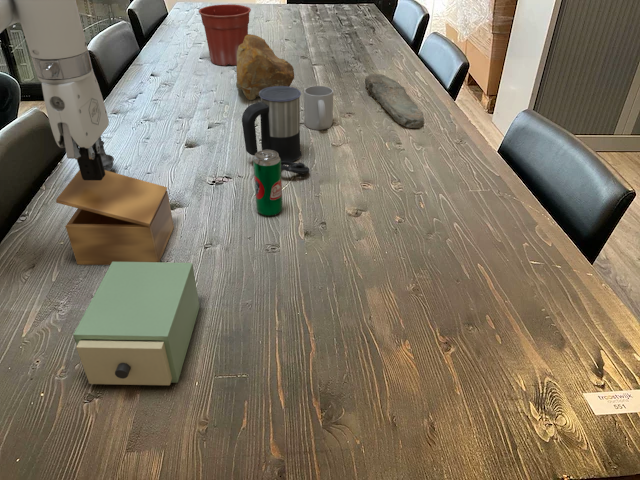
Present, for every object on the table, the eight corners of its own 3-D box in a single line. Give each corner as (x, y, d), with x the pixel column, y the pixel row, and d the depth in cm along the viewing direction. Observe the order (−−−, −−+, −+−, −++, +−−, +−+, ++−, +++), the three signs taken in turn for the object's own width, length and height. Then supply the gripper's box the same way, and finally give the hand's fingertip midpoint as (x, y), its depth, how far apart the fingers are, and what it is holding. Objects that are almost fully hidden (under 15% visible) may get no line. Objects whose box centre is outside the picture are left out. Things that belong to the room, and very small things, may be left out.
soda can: (276, 219, 103) (273, 163, 96) (252, 214, 104) (248, 158, 97) (286, 206, 106) (285, 151, 99) (263, 201, 108) (260, 146, 101)
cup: (329, 118, 142) (330, 85, 137) (336, 134, 134) (337, 99, 129) (302, 119, 141) (302, 86, 136) (307, 135, 133) (307, 101, 128)
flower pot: (206, 53, 187) (200, 4, 178) (253, 52, 188) (250, 3, 179) (202, 69, 174) (196, 16, 164) (254, 67, 175) (251, 15, 166)
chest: (77, 264, 91) (64, 226, 86) (101, 226, 100) (91, 189, 96) (157, 265, 91) (149, 227, 86) (174, 227, 100) (167, 190, 96)
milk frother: (279, 142, 130) (276, 82, 121) (333, 160, 122) (334, 97, 114) (239, 165, 120) (233, 101, 112) (295, 186, 113) (293, 119, 104)
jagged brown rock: (292, 110, 148) (296, 54, 140) (231, 105, 147) (231, 49, 139) (293, 83, 168) (296, 33, 159) (239, 79, 166) (239, 28, 158)
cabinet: (177, 382, 71) (167, 336, 66) (89, 381, 71) (72, 334, 66) (199, 306, 83) (192, 262, 78) (124, 305, 83) (112, 261, 78)
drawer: (167, 393, 68) (158, 356, 64) (85, 391, 68) (71, 354, 64) (191, 312, 80) (185, 277, 76) (122, 311, 80) (112, 276, 76)
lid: (55, 202, 84) (56, 199, 83) (83, 167, 93) (83, 164, 93) (149, 227, 86) (149, 223, 86) (166, 190, 96) (167, 187, 95)
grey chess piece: (83, 180, 114) (68, 127, 107) (97, 168, 119) (83, 116, 112) (109, 183, 113) (96, 130, 106) (122, 170, 118) (110, 118, 111)
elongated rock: (395, 136, 136) (431, 134, 139) (398, 116, 133) (435, 115, 135) (356, 82, 163) (387, 81, 165) (358, 64, 160) (390, 64, 162)
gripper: (68, 83, 71) (101, 202, 82) (107, 49, 83) (131, 157, 94) (12, 82, 71) (52, 201, 82) (58, 49, 83) (88, 156, 94)
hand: (94, 177), depth 88 cm, fingers closed
